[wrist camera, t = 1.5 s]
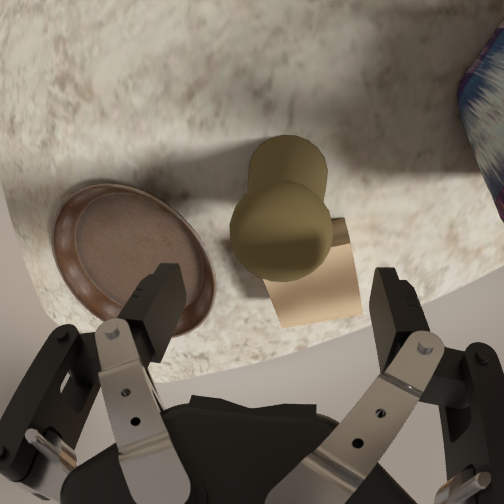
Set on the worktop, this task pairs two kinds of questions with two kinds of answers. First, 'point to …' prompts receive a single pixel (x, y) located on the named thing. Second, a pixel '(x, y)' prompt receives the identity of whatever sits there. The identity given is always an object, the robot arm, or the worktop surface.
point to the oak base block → (321, 287)
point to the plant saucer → (128, 251)
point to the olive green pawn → (283, 211)
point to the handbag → (486, 113)
